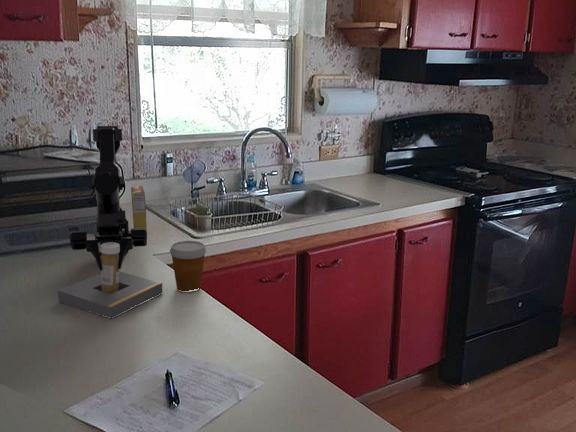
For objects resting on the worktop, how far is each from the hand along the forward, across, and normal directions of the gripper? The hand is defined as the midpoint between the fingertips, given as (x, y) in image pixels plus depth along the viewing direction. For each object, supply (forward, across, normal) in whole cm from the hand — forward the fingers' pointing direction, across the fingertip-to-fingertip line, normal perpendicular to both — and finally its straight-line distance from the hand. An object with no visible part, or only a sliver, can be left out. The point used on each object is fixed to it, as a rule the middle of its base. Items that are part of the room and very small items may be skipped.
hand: (110, 269), depth 152 cm
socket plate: (+5, 0, +7) cm, 8 cm away
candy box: (-33, +8, +46) cm, 58 cm away
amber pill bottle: (+4, 0, +6) cm, 8 cm away
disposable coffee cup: (+3, +20, +9) cm, 22 cm away
